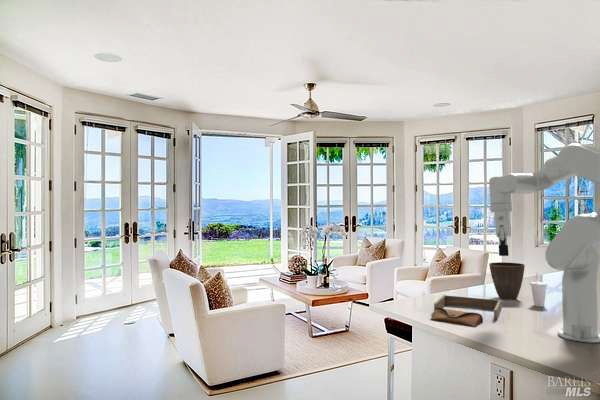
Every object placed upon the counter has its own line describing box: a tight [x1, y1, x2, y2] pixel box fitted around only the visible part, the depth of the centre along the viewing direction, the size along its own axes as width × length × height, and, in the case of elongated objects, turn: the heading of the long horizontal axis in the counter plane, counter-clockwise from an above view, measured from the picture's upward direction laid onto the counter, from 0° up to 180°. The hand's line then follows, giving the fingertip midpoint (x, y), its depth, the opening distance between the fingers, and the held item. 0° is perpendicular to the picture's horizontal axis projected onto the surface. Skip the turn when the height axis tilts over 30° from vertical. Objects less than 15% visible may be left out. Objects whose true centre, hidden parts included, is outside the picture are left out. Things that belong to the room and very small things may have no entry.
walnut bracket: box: [433, 294, 502, 322], centre depth 173 cm, size 19×23×4 cm
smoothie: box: [530, 272, 548, 307], centre depth 182 cm, size 6×6×14 cm
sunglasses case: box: [429, 307, 484, 328], centre depth 159 cm, size 18×7×7 cm
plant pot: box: [488, 261, 525, 301], centre depth 198 cm, size 15×15×16 cm
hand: (503, 255), depth 163 cm, fingers closed
